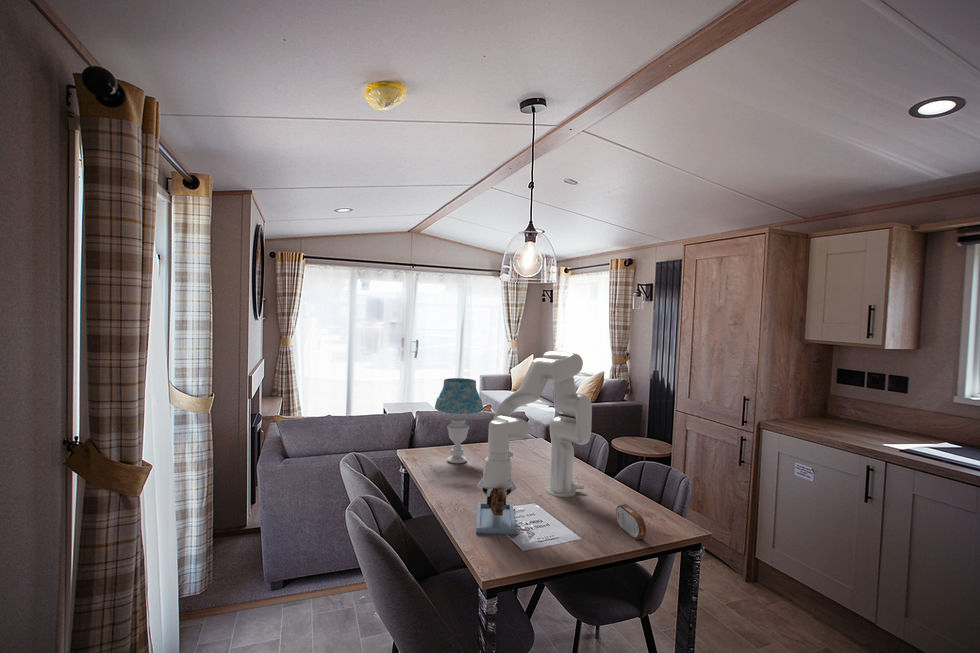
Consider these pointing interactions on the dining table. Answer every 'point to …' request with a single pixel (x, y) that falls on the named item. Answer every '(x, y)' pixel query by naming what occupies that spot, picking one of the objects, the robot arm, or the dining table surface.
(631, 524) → the tin
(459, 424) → the table lamp
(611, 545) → the dining table surface
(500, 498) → the wooden carving
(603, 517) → the dining table surface
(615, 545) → the dining table surface
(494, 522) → the tray
